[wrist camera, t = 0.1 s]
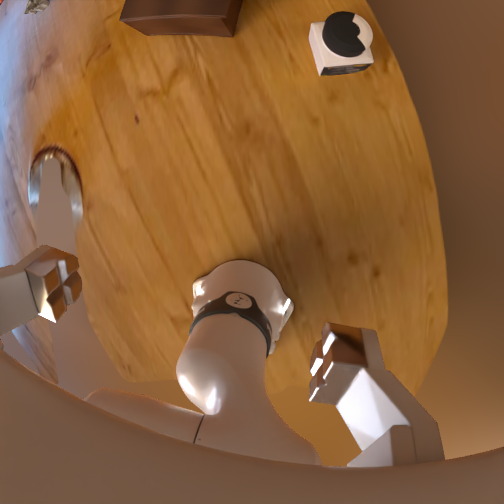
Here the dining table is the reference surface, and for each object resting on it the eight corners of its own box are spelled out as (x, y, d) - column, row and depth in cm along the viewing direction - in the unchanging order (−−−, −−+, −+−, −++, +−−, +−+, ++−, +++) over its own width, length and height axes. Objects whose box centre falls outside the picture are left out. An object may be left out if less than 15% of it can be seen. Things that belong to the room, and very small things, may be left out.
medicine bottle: (319, 77, 38) (329, 57, 27) (307, 38, 35) (312, 8, 24) (362, 72, 36) (385, 53, 25) (351, 33, 34) (368, 4, 23)
